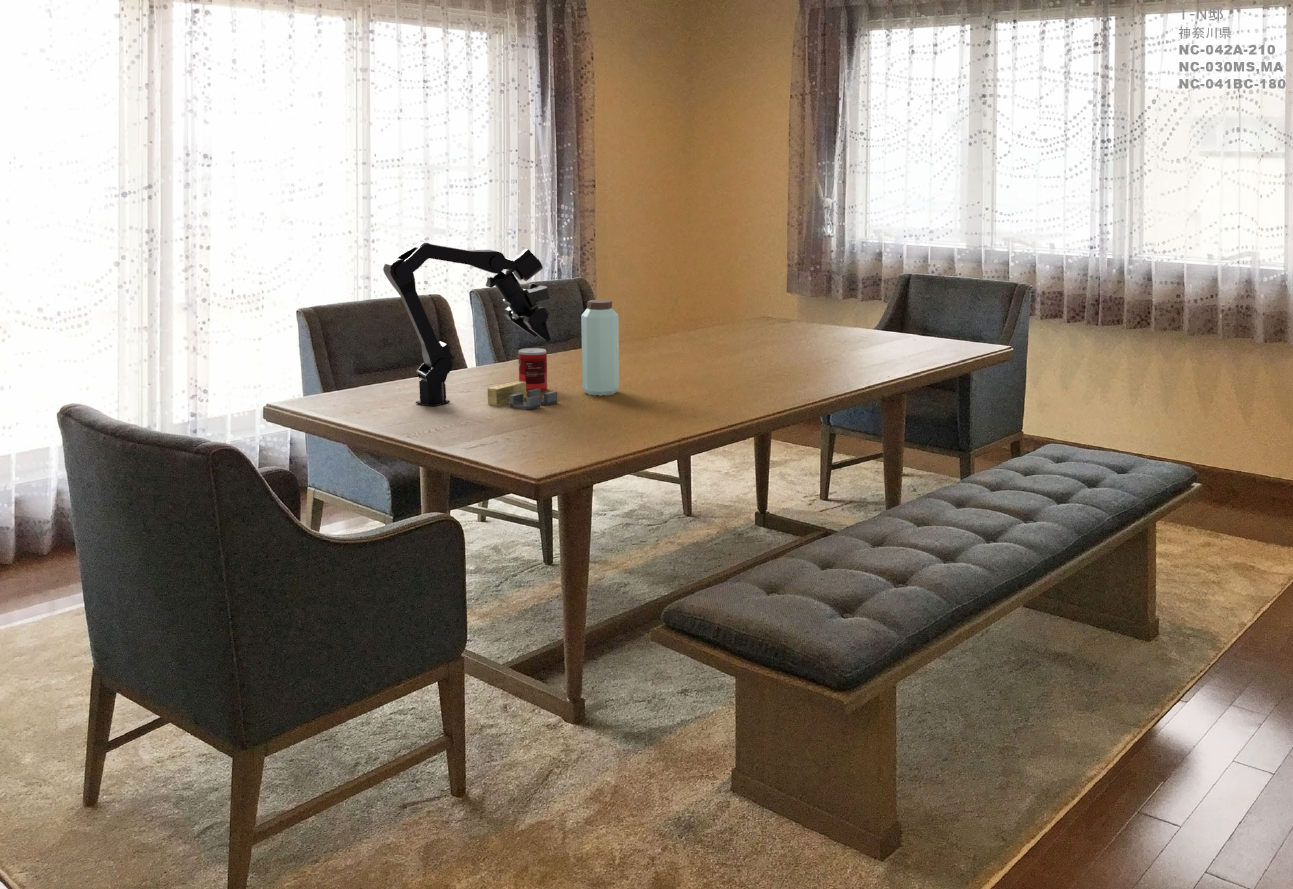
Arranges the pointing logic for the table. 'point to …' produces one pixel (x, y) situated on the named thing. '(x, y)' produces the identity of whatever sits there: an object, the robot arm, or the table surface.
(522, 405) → the bracket
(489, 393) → the tan rectangular block
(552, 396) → the far chain end
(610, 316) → the water bottle
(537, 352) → the canned food
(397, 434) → the table surface
